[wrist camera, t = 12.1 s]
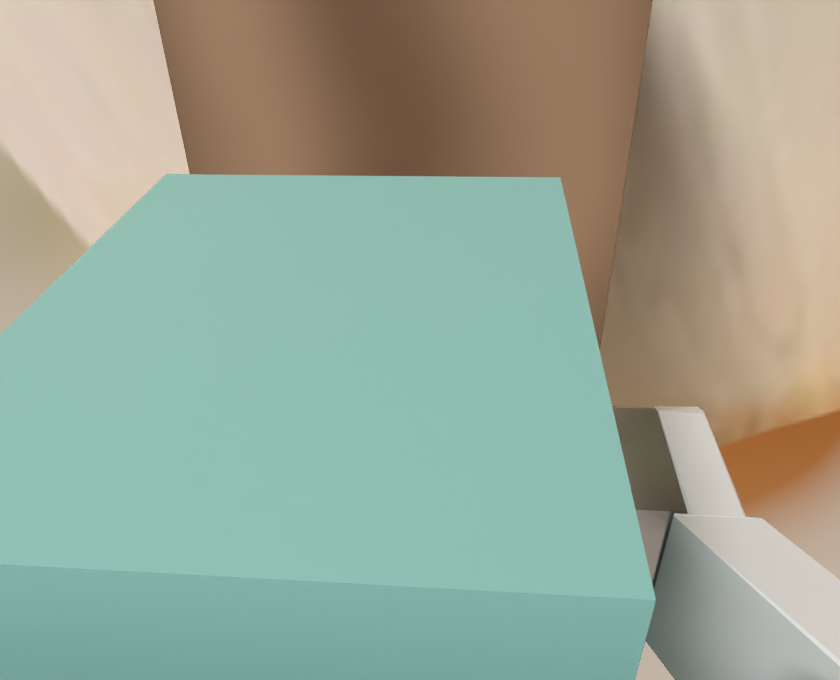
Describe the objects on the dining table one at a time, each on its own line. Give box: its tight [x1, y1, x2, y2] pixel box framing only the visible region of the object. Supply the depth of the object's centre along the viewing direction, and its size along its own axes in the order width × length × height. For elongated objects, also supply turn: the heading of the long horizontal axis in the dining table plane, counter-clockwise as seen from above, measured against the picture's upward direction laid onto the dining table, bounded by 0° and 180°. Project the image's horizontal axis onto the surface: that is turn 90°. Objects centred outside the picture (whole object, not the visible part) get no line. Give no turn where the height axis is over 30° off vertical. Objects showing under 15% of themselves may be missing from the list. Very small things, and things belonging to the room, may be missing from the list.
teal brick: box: [0, 174, 656, 680], centre depth 8 cm, size 5×5×6 cm
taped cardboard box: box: [154, 0, 653, 350], centre depth 21 cm, size 10×10×12 cm
